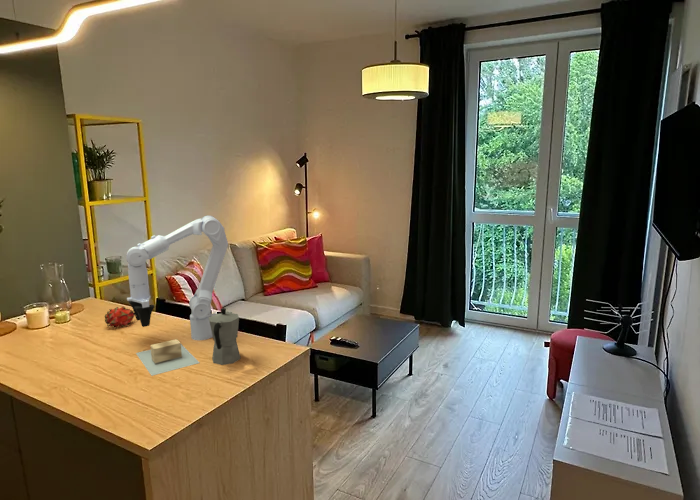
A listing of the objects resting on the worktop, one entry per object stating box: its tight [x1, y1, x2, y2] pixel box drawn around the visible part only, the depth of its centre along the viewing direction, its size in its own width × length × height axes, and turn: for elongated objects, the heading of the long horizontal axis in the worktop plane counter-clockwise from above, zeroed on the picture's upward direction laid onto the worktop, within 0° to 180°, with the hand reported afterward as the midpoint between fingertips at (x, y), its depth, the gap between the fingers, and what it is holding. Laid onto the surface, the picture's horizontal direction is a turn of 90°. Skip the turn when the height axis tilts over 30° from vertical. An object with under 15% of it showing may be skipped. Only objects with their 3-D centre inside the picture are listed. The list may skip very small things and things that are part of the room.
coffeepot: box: [209, 307, 241, 366], centre depth 139 cm, size 15×9×18 cm, turn 0°
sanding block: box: [150, 338, 182, 365], centre depth 141 cm, size 8×4×5 cm, turn 126°
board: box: [135, 343, 200, 377], centre depth 143 cm, size 14×20×2 cm
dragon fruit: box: [104, 306, 135, 329], centre depth 175 cm, size 8×8×12 cm
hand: (142, 322), depth 151 cm, fingers open, 7 cm apart
